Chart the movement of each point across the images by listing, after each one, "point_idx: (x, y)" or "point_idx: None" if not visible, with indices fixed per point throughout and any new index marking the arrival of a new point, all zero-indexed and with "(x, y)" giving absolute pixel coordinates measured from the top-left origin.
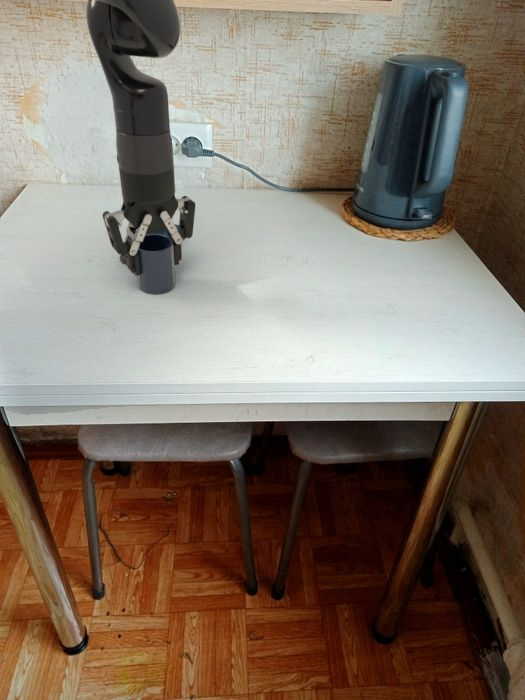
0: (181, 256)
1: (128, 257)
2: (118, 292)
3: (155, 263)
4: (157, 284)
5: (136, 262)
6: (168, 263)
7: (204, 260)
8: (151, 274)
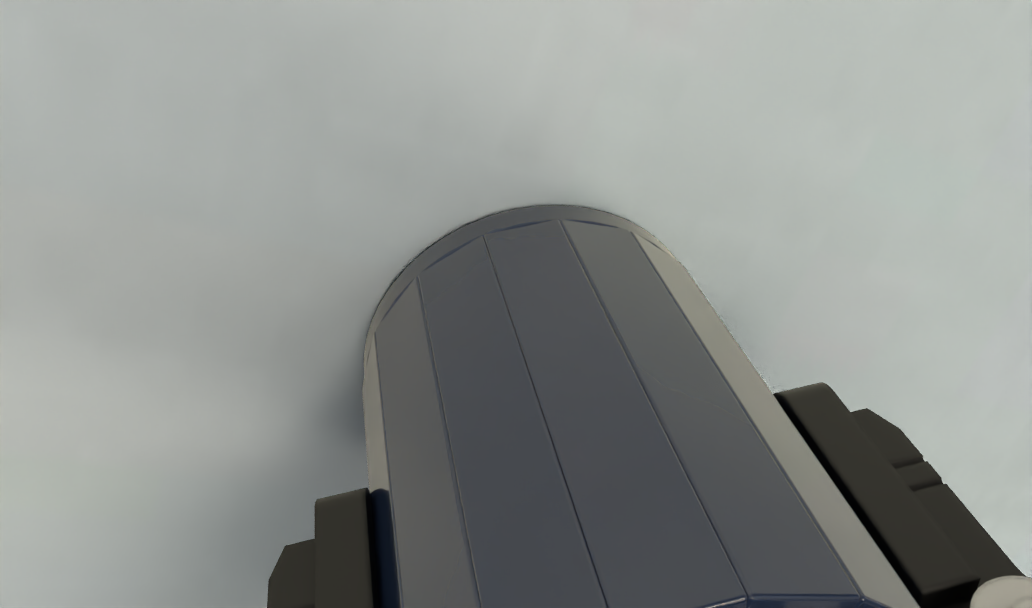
0: (271, 591)
1: (1002, 565)
2: (856, 312)
3: (714, 448)
4: (613, 263)
5: (895, 500)
6: (510, 454)
7: (11, 605)
8: (710, 347)
